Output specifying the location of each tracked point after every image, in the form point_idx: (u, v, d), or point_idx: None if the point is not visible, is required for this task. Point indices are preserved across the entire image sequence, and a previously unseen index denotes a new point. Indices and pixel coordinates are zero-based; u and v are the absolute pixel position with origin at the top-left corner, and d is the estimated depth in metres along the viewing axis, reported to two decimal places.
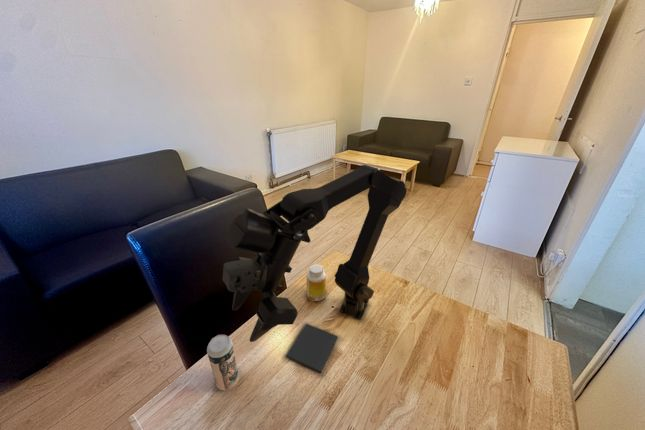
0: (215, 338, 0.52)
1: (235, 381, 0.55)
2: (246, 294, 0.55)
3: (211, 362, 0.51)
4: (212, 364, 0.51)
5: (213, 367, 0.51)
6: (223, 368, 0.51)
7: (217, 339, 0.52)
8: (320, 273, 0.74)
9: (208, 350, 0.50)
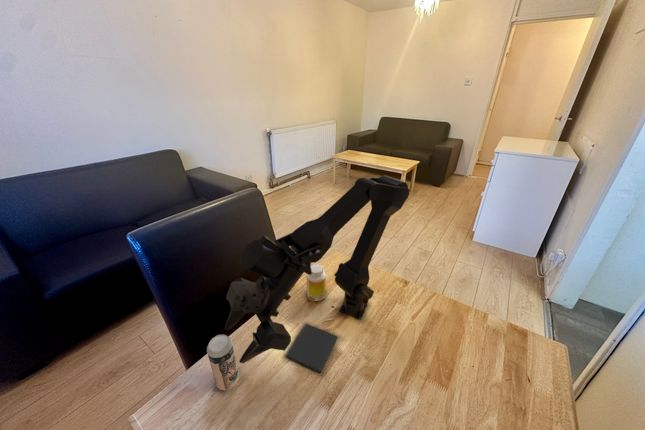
0: (215, 338, 0.52)
1: (235, 381, 0.55)
2: (240, 315, 0.58)
3: (211, 362, 0.51)
4: (212, 364, 0.51)
5: (213, 367, 0.51)
6: (223, 368, 0.51)
7: (217, 339, 0.52)
8: (320, 273, 0.74)
9: (208, 350, 0.50)
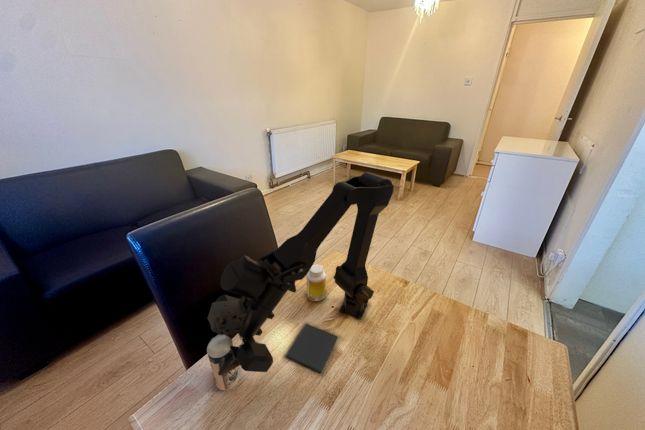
0: (215, 338, 0.52)
1: (235, 381, 0.55)
2: None
3: (211, 362, 0.51)
4: (212, 364, 0.51)
5: (213, 367, 0.51)
6: None
7: (217, 339, 0.52)
8: (320, 273, 0.74)
9: (208, 350, 0.50)
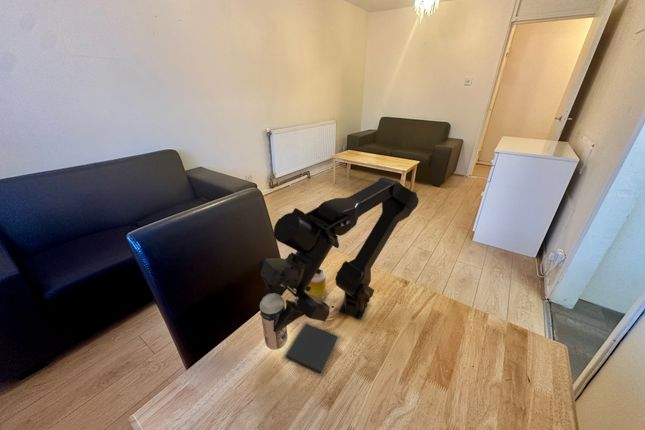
0: (266, 297, 0.52)
1: (285, 340, 0.55)
2: None
3: (265, 320, 0.50)
4: (266, 322, 0.51)
5: (267, 325, 0.51)
6: None
7: (268, 297, 0.51)
8: (320, 273, 0.74)
9: (262, 308, 0.50)
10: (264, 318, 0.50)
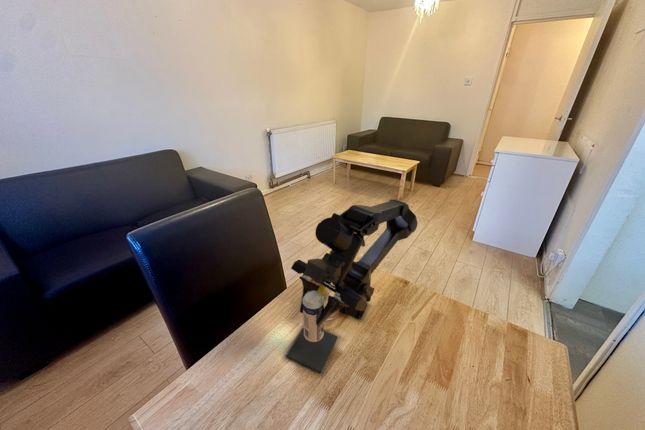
0: (307, 294, 0.57)
1: (323, 332, 0.61)
2: None
3: (309, 315, 0.56)
4: (309, 317, 0.56)
5: (310, 320, 0.56)
6: None
7: (309, 295, 0.57)
8: None
9: (306, 304, 0.55)
10: (308, 313, 0.56)
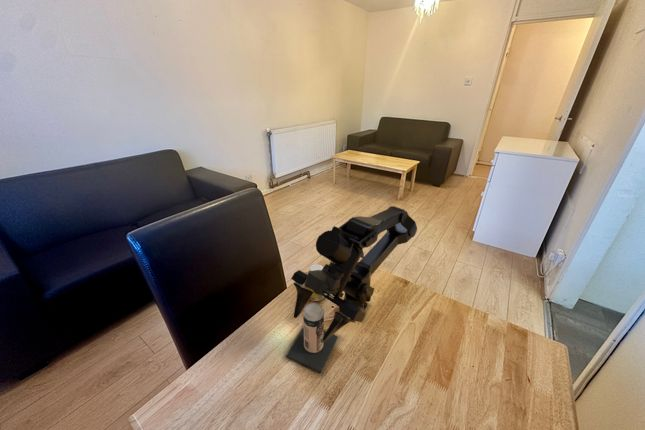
0: (307, 306, 0.59)
1: (322, 343, 0.62)
2: (304, 303, 0.63)
3: (309, 327, 0.58)
4: (310, 328, 0.58)
5: (310, 331, 0.58)
6: (319, 331, 0.58)
7: (310, 307, 0.59)
8: None
9: (307, 316, 0.57)
10: (308, 325, 0.57)
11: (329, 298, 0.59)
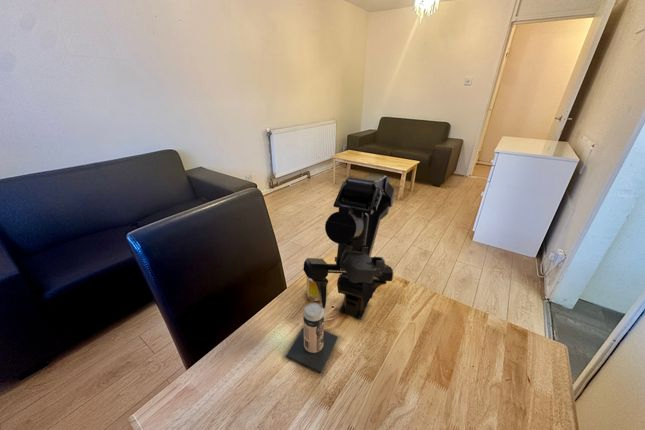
0: (307, 306, 0.59)
1: (322, 343, 0.62)
2: None
3: (309, 327, 0.58)
4: (310, 328, 0.58)
5: (310, 331, 0.58)
6: (319, 330, 0.58)
7: (310, 307, 0.59)
8: None
9: (307, 316, 0.57)
10: (308, 325, 0.57)
11: None
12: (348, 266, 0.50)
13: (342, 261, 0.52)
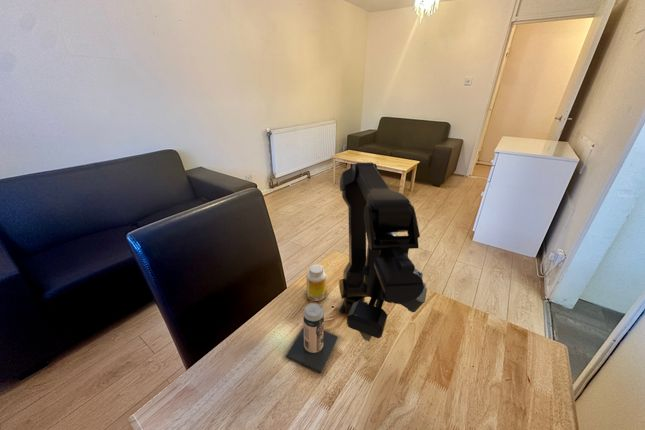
0: (307, 306, 0.59)
1: (322, 343, 0.62)
2: None
3: (309, 327, 0.58)
4: (310, 328, 0.58)
5: (310, 331, 0.58)
6: (319, 330, 0.58)
7: (310, 307, 0.59)
8: (320, 273, 0.74)
9: (307, 316, 0.57)
10: (308, 325, 0.57)
11: None
12: None
13: None
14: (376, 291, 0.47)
